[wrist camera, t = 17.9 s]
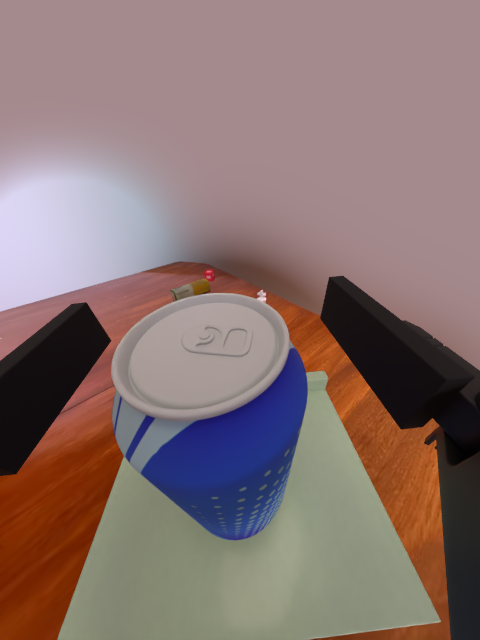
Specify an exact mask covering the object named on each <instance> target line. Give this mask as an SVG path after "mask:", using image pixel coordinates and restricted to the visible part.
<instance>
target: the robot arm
mask: <svg viewBox="0 0 480 640" xmlns="http://www.w3.org/2000/svg"><path fill="white" fill-rule="evenodd" d="M320 319H321V320H322V321H323V323H324V324H325V325H326V327H327V328H328V330H329V331H330V332H331V334H332V335H333V336H334V338H335V339H336V341H337V342H338V343H339V345H340V346H341V347H342V349H343V350H344V352H345V353H346V354H347V356H348V357H349V358H350V360H351V361H352V363H353V364H354V365H355V367H356V368H357V369H358V371H359V372H360V374H361V375H362V376H363V378H364V379H365V380H366V382H367V383H368V385H369V386H370V387H371V389H372V390H373V391H374V393H375V394H376V396H377V397H378V398H379V400H380V401H381V402H382V404H383V405H384V407H385V408H386V409H387V411H388V412H389V413H390V415H391V416H392V418H393V419H394V420H395V422H396V423H397V425H398V426H399V427H400V429H409V428H417V427H423V426H424V425H425V424H426V423H427V422H428V421H429V420H431V419H432V418H433V419H434V420H435V421H436V422H437V423H438V424H439V425H440V426H439V427H438V428H437V429H436V430H435V431H433V432H432V433H431V434H430V435H429V436H428V437H426V439H425V442H424V443H425V444H427V445H429V444H431V443H432V442H433V441H434V440H436V442H437V446H436V447H435V449H437V455H438V469H439V483H440V496H441V510H442V523H443V537H444V551H445V564H446V578H447V591H448V605H449V619H450V632H451V640H480V371H479V370H478V369H476V368H475V367H474V366H472V365H471V364H470V363H468V362H467V361H466V360H464V359H463V358H462V357H460V356H459V355H457V354H456V353H455V352H453V351H452V350H450V349H449V348H448V347H446V346H443V344H442V343H441V342H439V341H438V340H437V339H435V338H434V339H433V337H432V336H431V335H430V334H428V333H427V332H426V331H424V330H423V329H422V328H420V327H418V326H415V325H414V324H411V323H409V322H407V321H402V320H400V319H399V318H398V317H396V316H395V315H394V314H392V313H391V312H390V311H389V310H387V309H386V308H385V307H383V306H382V305H380V304H379V303H378V302H377V301H375V300H374V299H373V298H372V297H370V296H369V295H368V294H366V293H365V292H363V291H362V290H361V289H360V288H358V287H357V286H356V285H354V284H353V283H352V282H350V281H349V280H348V279H347V278H345V277H344V276H337V277H329V281H328V285H327V290H326V295H325V299H324V304H323V308H322V313H321V318H320ZM110 342H111V340H110V338H109V337H108V335H107V333H106V332H105V330H104V329H103V327H102V326H101V324H100V323H99V321H98V320H97V318H96V316H95V315H94V313H93V312H92V310H91V309H90V307H89V306H88V304H87V303H77V304H71V305H70V306H69V307H68V308H66V309H65V310H64V311H63V312H61V313H60V314H59V315H57V316H56V317H55V318H54V319H52V320H51V321H50V322H49V323H47V324H46V325H45V326H44V327H42V328H41V329H40V330H39V331H37V332H36V333H35V334H34V335H32V336H31V337H30V338H29V339H27V340H26V341H25V342H24V343H22V344H21V345H20V346H18V347H17V348H16V349H15V350H13V351H12V352H11V353H10V354H8V355H7V356H6V357H5V358H3V359H2V360H1V361H0V476H4V475H13V474H17V472H18V471H19V469H20V468H21V467H22V465H23V464H24V462H25V461H26V460H27V458H28V457H29V455H30V454H31V453H32V451H33V450H34V448H35V447H36V446H37V444H38V443H39V441H40V440H41V438H42V437H43V436H44V434H45V433H46V431H47V430H48V429H49V427H50V426H51V424H52V423H53V422H54V420H55V419H56V417H57V416H58V415H59V413H60V412H61V410H62V409H63V408H64V406H65V405H66V403H67V402H68V401H69V399H70V398H71V396H72V395H73V394H74V392H75V391H76V389H77V388H78V387H79V385H80V384H81V382H82V381H83V380H84V378H85V377H86V375H87V374H88V373H89V371H90V370H91V368H92V367H93V366H94V364H95V363H96V361H97V360H98V359H99V357H100V356H101V354H102V353H103V352H104V350H105V349H106V347H107V346H108V345H109V343H110Z"/></svg>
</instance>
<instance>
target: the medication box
mask: <svg viewBox="0 0 480 640" xmlns="http://www.w3.org/2000/svg"><path fill="white" fill-rule="evenodd" d="M170 291H171V293H172V297H173V300H174V302H175V301H178V300H181V299H184V298H188V297H192V296H197V295H200V294H202V293H205V292H207V291H210V289H209V283H208V280H207V279H205V278H203V279H200V280H198V281H195V282H192V283H189V284H187V285H184V286H181V287H178V288H176V289H173V290H170Z"/></svg>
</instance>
